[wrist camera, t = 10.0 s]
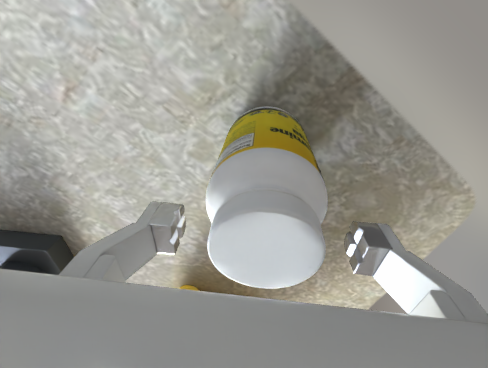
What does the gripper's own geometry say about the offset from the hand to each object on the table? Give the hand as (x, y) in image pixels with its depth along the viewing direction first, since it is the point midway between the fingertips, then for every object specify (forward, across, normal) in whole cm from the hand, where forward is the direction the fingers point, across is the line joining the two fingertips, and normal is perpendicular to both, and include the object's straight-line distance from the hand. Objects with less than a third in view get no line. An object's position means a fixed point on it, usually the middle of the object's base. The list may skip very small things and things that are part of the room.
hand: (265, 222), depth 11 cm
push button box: (+9, +28, +20) cm, 35 cm away
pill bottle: (+9, 0, 0) cm, 9 cm away
